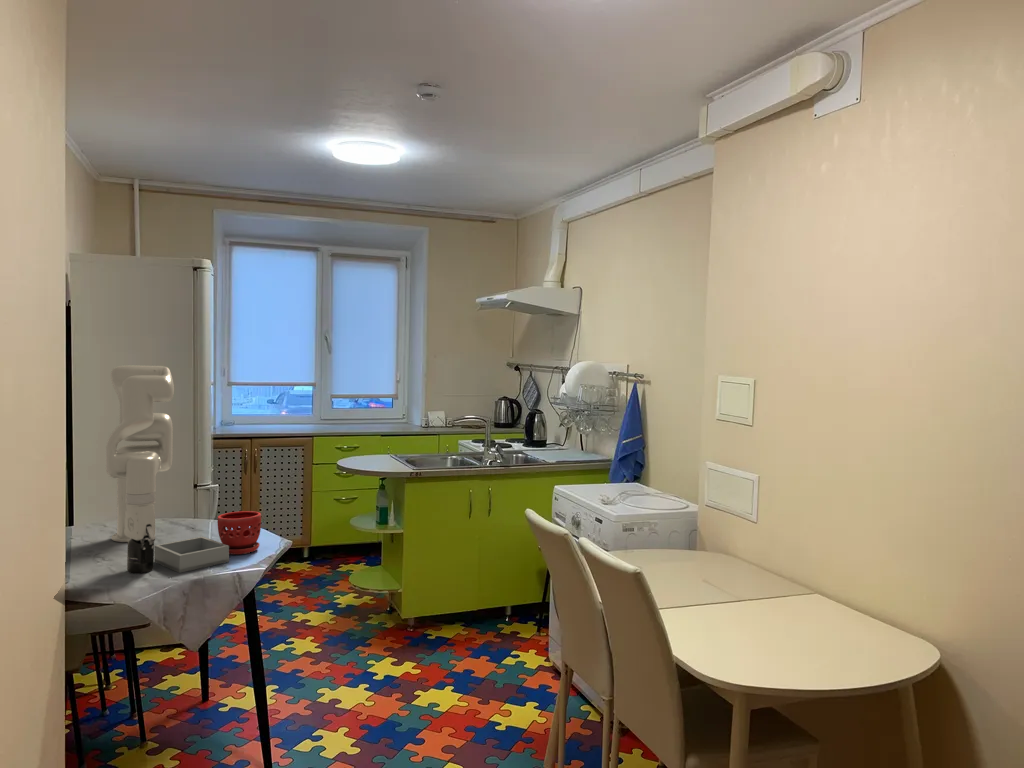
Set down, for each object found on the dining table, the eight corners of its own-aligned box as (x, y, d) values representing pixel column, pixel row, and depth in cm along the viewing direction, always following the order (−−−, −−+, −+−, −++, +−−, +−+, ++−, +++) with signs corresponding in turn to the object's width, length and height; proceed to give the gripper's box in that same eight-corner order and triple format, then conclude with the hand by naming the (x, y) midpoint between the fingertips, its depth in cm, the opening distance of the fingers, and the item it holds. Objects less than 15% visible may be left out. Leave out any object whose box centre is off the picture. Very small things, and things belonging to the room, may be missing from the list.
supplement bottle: (125, 575, 199) (126, 533, 198) (128, 568, 205) (128, 527, 204) (153, 572, 201) (153, 531, 201) (154, 566, 208) (154, 526, 207)
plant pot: (267, 546, 232) (267, 510, 232) (251, 557, 219) (251, 519, 218) (228, 545, 232) (228, 509, 232) (209, 556, 219) (210, 518, 219)
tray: (154, 561, 212) (154, 545, 212) (202, 552, 223) (202, 536, 223) (179, 573, 202) (179, 555, 202) (228, 562, 213) (229, 545, 213)
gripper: (114, 496, 205) (114, 556, 205) (140, 505, 194) (140, 569, 194) (141, 492, 211) (141, 551, 211) (168, 501, 200) (167, 563, 200)
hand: (140, 559), depth 203 cm, fingers closed on supplement bottle, 6 cm apart
